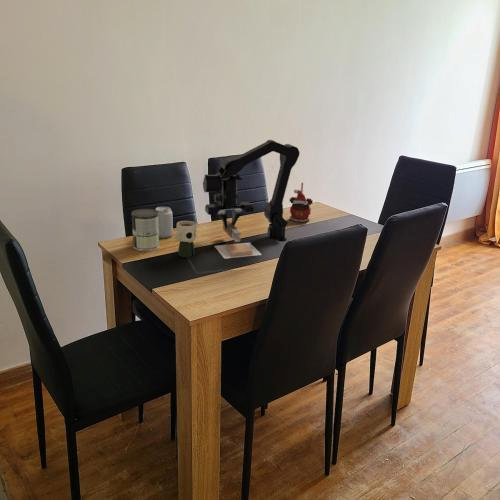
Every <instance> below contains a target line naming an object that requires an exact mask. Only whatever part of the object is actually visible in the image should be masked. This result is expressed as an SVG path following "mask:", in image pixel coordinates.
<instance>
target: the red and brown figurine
mask: <svg viewBox="0 0 500 500" xmlns="http://www.w3.org/2000/svg"><path fill="white" fill-rule="evenodd" d="M300 185H301V187H300V189H298V188H295V189H293V193H294V194H297V196H291V197H290V198H289V202H290V204H292V205H291V206H290V209H289V213H290V216H289V219H290V220H291V221H295V222H298V221H299V223H303V222H304V223H305V222H308V221H310V219H311V217H310V215H311V210H312V209H311V207H310V206H311V205H312V204H313V200H312V198H309V197H308V198H306V196H305V194H304V193H303V191H304V182H301V184H300Z"/></svg>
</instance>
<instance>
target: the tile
mask: <svg viewBox="0 0 500 500" xmlns="http://www.w3.org/2000/svg"><path fill="white" fill-rule="evenodd" d="M245 243H246V242H243V243H242V242H241V244H240V243H232V244H230V245H229V244H224V245H225V249H226V250H227V251H228V252H229V253H230V254H231V256H232V257H233V256H244V255H252V250H251V249H250V248H249V247H248V246H247V245H246V244H245Z"/></svg>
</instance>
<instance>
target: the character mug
mask: <svg viewBox="0 0 500 500" xmlns="http://www.w3.org/2000/svg"><path fill="white" fill-rule="evenodd" d="M196 223H197V222H195V221H193V220H192V221H191V220H181V221H177V223H176V231H175V239H176V240H177V241H179V243H178V244H179V245H178V252H177V254H178V256H179V257H181V258H191V257H193V256H195V255H196V254H195V253H196V251H195V245H194V241H196V238H197V225H196Z"/></svg>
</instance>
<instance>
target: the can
mask: <svg viewBox="0 0 500 500" xmlns="http://www.w3.org/2000/svg"><path fill="white" fill-rule="evenodd" d="M155 210H156V211H158V224H159V239H168V237H169V238H171V237H172V236H173V234H174V228H173V227H174V226H173V225H174V224H173V223H174V222H173V211H172V209H171V207H168V206H157V207H156V208H155Z"/></svg>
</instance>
